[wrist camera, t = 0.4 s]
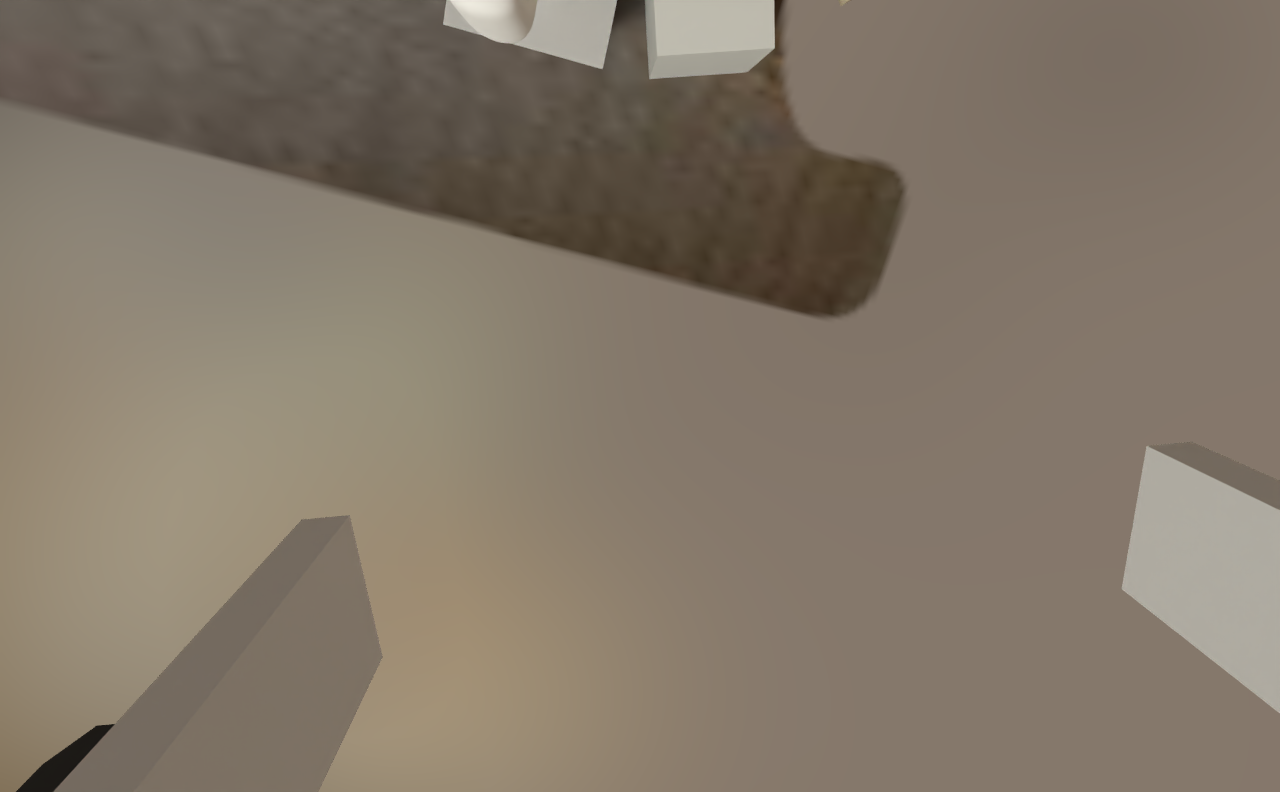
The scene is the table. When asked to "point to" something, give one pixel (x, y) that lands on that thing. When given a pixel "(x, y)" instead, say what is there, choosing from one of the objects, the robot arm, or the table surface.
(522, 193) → the table surface
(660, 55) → the white block
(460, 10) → the figurine
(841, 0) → the beech block
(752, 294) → the table surface
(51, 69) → the table surface
